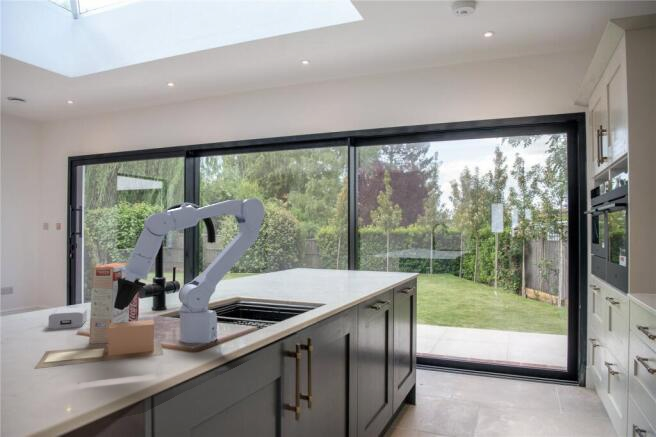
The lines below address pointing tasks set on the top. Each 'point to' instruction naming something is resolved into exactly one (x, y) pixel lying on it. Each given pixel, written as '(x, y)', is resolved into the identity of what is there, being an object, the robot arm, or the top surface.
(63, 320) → the charger
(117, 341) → the terracotta cover
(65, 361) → the walnut board
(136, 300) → the soda can
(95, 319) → the cracker box
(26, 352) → the top surface
